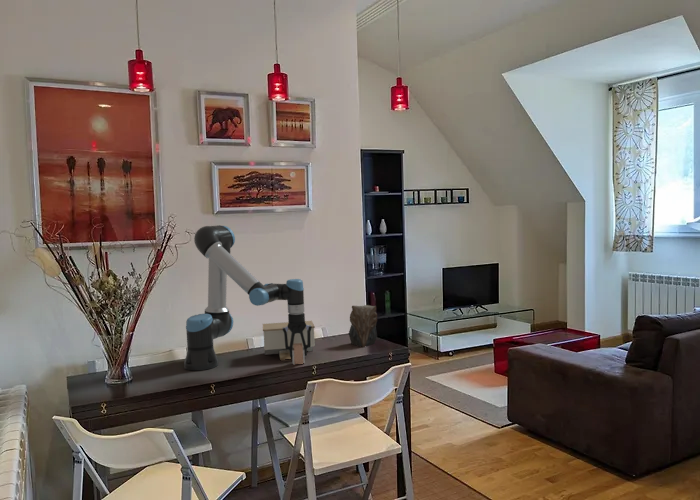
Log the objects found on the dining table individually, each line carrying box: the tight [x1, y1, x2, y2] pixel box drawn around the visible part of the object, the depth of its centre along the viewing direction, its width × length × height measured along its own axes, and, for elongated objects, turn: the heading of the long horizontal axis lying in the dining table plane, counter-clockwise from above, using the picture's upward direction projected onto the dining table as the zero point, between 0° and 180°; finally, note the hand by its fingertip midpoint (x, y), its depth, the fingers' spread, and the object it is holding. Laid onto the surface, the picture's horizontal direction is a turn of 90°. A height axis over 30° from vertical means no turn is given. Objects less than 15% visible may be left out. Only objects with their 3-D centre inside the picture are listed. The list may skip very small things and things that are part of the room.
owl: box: [348, 304, 378, 348], centre depth 284 cm, size 13×13×20 cm
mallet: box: [278, 343, 304, 365], centre depth 255 cm, size 10×17×9 cm, turn 10°
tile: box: [279, 352, 292, 361], centre depth 259 cm, size 5×5×2 cm
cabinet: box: [262, 320, 316, 355], centre depth 266 cm, size 25×15×15 cm, turn 99°
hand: (298, 363), depth 249 cm, fingers closed on mallet, 4 cm apart
